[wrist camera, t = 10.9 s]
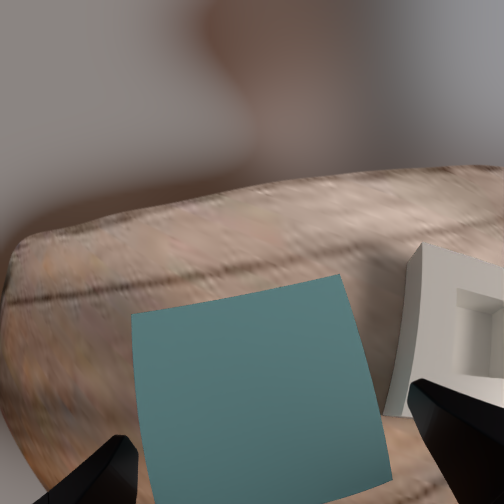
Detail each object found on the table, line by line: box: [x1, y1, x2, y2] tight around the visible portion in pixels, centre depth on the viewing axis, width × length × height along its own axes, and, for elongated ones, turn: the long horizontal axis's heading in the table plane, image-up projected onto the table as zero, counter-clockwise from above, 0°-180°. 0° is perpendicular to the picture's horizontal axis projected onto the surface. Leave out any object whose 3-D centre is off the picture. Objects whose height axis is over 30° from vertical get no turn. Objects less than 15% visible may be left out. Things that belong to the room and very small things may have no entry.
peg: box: [131, 274, 393, 504], centre depth 9 cm, size 4×4×12 cm
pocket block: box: [383, 242, 504, 419], centre depth 14 cm, size 11×11×3 cm
